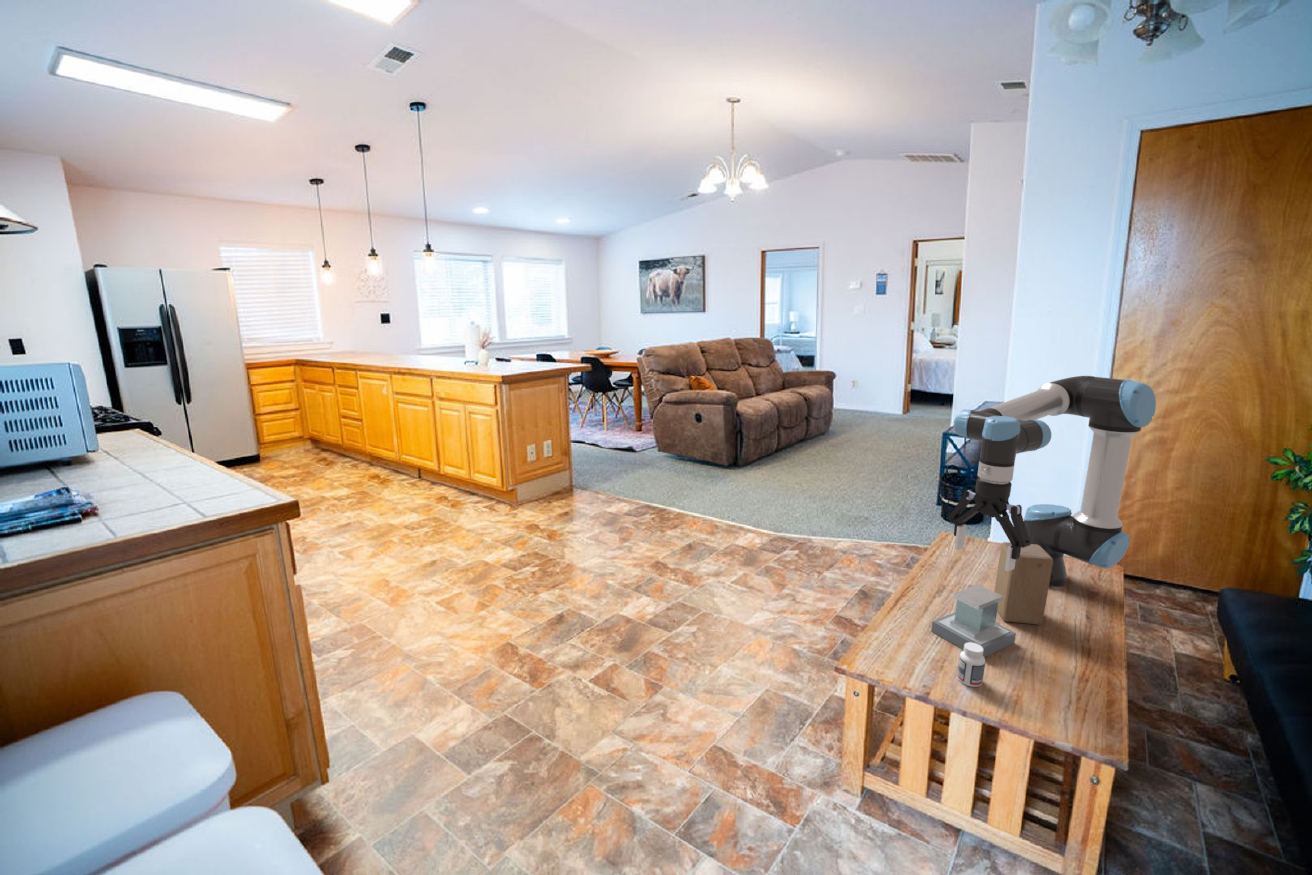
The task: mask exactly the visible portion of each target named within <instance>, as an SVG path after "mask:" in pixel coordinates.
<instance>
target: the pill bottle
mask: <svg viewBox="0 0 1312 875" xmlns="http://www.w3.org/2000/svg"><path fill="white" fill-rule="evenodd" d="M957 667H958V669H957V679H958V681H959V682H960V683H961V684H963V685H965V686H968V687H971V688H978V687H980V686H982V685H983V682H984V675H985V667H986V658H985V657H983V647H982V646H980V645H978V644H976V643H971V642H968V643H965V645H964V650H963V651H961V652H960V654H959V662H958V666H957Z"/></svg>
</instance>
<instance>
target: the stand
mask: <svg viewBox="0 0 1312 875" xmlns="http://www.w3.org/2000/svg"><path fill="white" fill-rule="evenodd" d="M954 619H955V612H952V613H949V614H947V615H945V616H943V617H940V618H937V619H935V620H933V621H932V622H931V629H930V630H931V631H930V632H932V633H934V634H935V635H938V636H939V637H941V638H942V639H944V640H946V641H947V642H949V643H951V644H953V645H954V646H956V647H958V648H960V649H962V650H963V651H964V645H965V643H968V642H971V643H976V644H978V645H980V646H982V647H983V657H984V658H985V657H987V656H990V655H992V654H994V653H997V652H999V651H1001V650H1004V649H1005V648H1007V647H1009V646H1012V645H1014V644H1015V641H1016V634H1017V633H1016V632H1015V631H1013V630H1010V629H1009V628H1007V627H1005V626H1003V625H1001V624H999V628H997V629H994V630H992V631H990V632H988V633H985V634H983V635H981V636H979V637H976V638H973V637H971V636H969V635H967V634H965V633H963V632H962V631H960V630H958V629H956V628H954V627H952V626H950V621H951V620H954Z"/></svg>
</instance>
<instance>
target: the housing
mask: <svg viewBox="0 0 1312 875" xmlns="http://www.w3.org/2000/svg"><path fill="white" fill-rule="evenodd" d="M994 591H995V590H991V589H989V588H987V587H985V586H982V585H980V584H975V585H972V586H971V587H967V588H965V589H961V590H960V591H957V592H955V593H953V596H952V597H953V599H955V600H956V605H955V611H954V613H955V619H954V620H951V621H950V626H952V627H954V628H956V629H958V630H960V631H962V632H963V633H965V634H967V635H969V636H971V637H973V638H976V637H979V636H981V635H983V634H985V633H988V632H990V631H992V630H994V629H997V628H999V625H1000V623H999V622H997V621H996V620H997V613H998V611H997V608H998V602H1000V601H1002V600H1003V596H1002V595H1000V594H998V593H996V592H994Z"/></svg>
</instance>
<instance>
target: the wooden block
mask: <svg viewBox="0 0 1312 875" xmlns="http://www.w3.org/2000/svg"><path fill="white" fill-rule="evenodd" d="M1009 545H1012V544H1011V543H1010V541H1007V542H1005V541H1004V542H1002V543H1001V546H1000V553H999V558H998V565H997V571H996V572H997V573H996V578H995V586H994V590H993V591H994V592H996V593H998V594H1000V595H1002V596H1003V600H1002V601H1000V602H998V608H997V613H998V614H999V616H1000V617H1001V618H1002V621H1005V622H1007V623H1009V622H1010V623H1019V624H1030V625H1042V624H1043V622H1044V615H1045V611H1046V604H1047V598H1048V593H1049V588H1050V586H1049V583H1050V577H1051V571H1052V565H1053V559H1052V557H1051V556H1050V555H1049V554H1048V553H1047V552H1046V551H1045V550H1044V549H1043V548H1042V547H1041V546H1039V545H1037V544H1031V545H1029V546H1027V547H1024V548H1022V547H1021V552H1020V557H1019V558H1018V559H1016V561H1015V568H1014V569H1013V570H1010V571H1005V564H1006V557H1007V550H1008V546H1009Z"/></svg>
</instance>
